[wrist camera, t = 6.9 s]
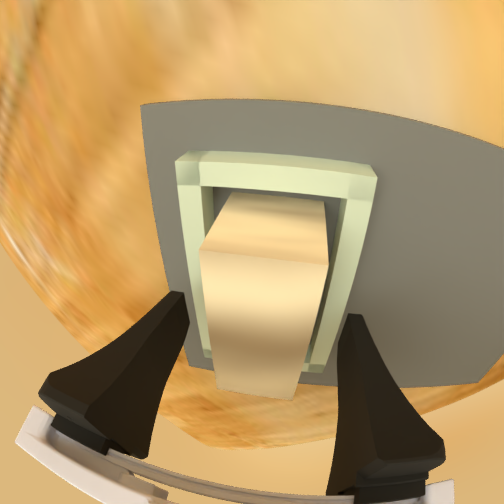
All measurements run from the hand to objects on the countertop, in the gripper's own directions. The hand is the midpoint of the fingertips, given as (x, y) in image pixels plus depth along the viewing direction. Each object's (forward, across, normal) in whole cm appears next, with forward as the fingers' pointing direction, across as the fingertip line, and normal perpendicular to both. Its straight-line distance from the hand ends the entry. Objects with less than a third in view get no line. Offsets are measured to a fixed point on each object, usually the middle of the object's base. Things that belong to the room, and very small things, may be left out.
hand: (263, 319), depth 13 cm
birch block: (+3, 0, 0) cm, 3 cm away
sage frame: (+3, 0, 0) cm, 4 cm away
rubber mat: (+4, -7, +1) cm, 8 cm away
